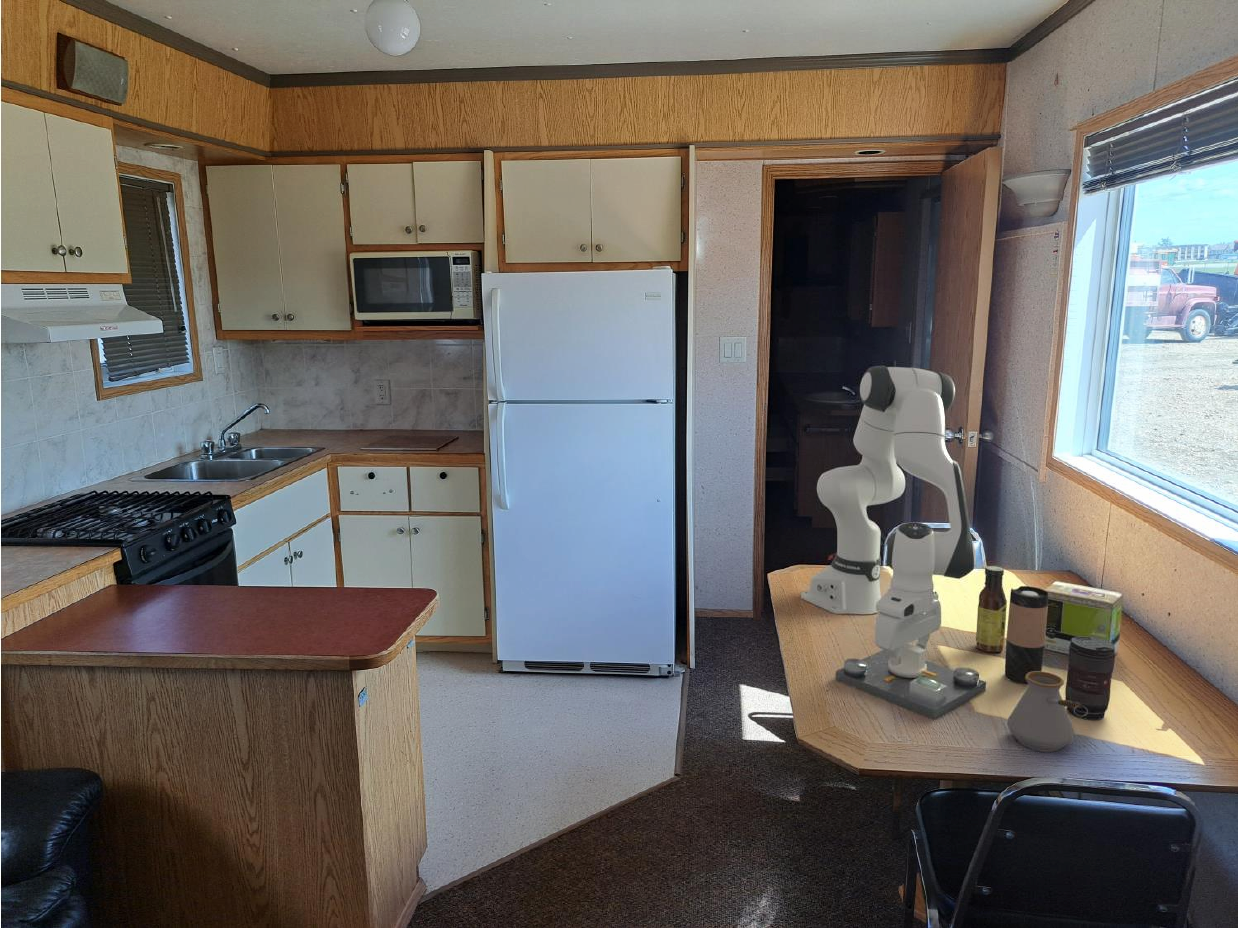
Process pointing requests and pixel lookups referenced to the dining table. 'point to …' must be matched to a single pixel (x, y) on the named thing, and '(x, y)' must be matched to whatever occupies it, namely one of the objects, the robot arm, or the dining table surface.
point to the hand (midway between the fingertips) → (907, 658)
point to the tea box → (1081, 615)
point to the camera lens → (1089, 676)
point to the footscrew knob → (911, 663)
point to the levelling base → (903, 686)
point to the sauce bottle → (991, 612)
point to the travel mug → (1025, 632)
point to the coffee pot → (1043, 714)
